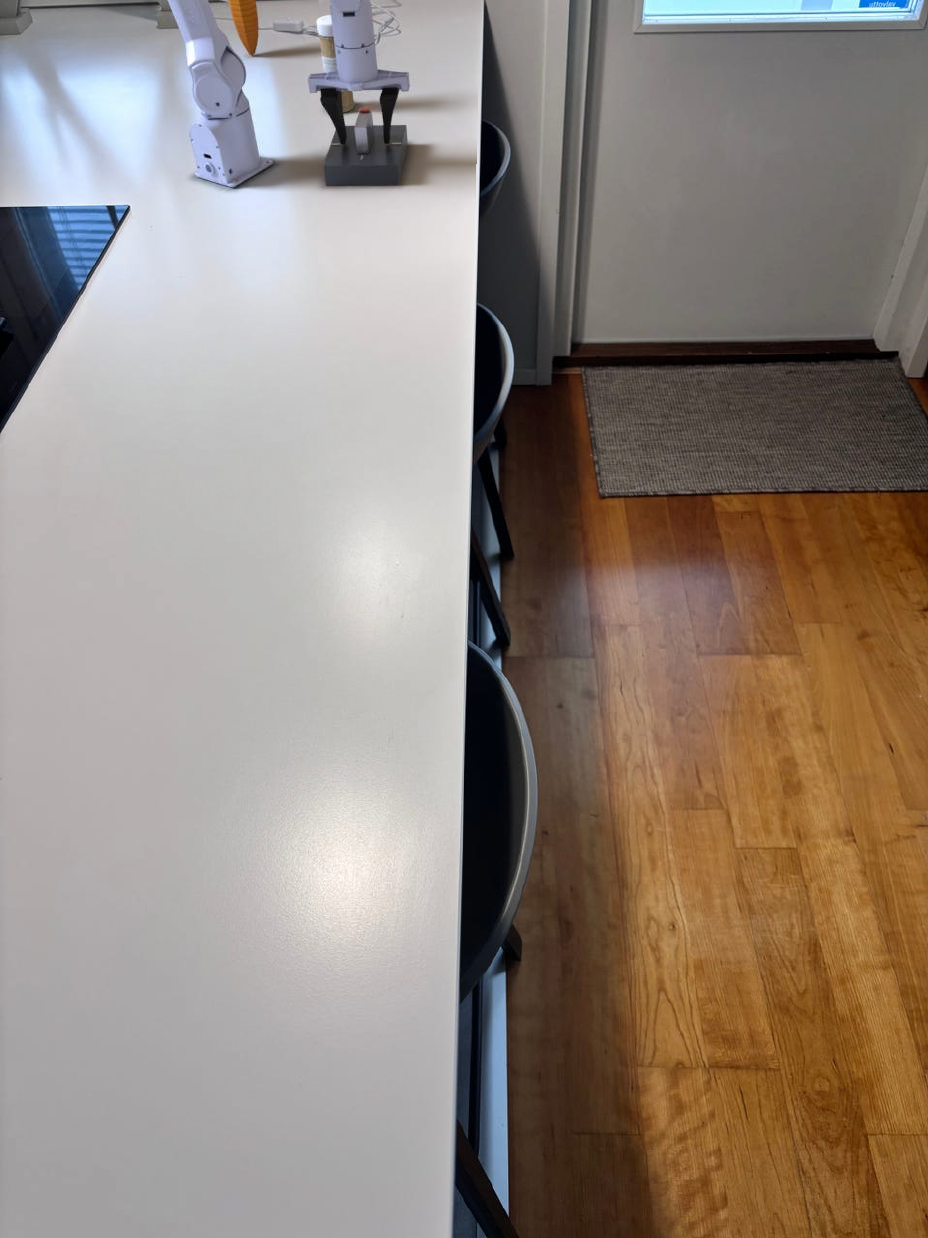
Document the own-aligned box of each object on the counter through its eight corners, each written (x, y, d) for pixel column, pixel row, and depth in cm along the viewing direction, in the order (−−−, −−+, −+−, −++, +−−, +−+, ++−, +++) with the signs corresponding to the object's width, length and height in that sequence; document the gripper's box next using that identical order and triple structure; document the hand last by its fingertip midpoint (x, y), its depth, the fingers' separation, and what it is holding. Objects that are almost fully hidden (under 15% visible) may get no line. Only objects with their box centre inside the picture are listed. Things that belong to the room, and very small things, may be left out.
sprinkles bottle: (360, 107, 161) (350, 17, 151) (339, 115, 159) (328, 25, 149) (343, 100, 163) (332, 11, 153) (322, 108, 161) (310, 18, 151)
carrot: (263, 60, 177) (246, -35, 165) (237, 61, 177) (218, -34, 165) (267, 50, 180) (250, -44, 168) (241, 51, 180) (223, -43, 169)
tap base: (398, 185, 142) (396, 163, 139) (326, 185, 143) (322, 164, 140) (407, 144, 151) (406, 123, 148) (339, 144, 152) (336, 124, 149)
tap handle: (369, 153, 142) (366, 125, 139) (357, 153, 142) (353, 125, 139) (374, 134, 146) (371, 107, 143) (362, 134, 147) (359, 107, 143)
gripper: (298, 52, 132) (314, 153, 142) (402, 50, 131) (410, 152, 141) (307, 34, 136) (321, 132, 146) (407, 32, 135) (414, 131, 146)
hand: (365, 140), depth 144 cm, fingers open, 6 cm apart
